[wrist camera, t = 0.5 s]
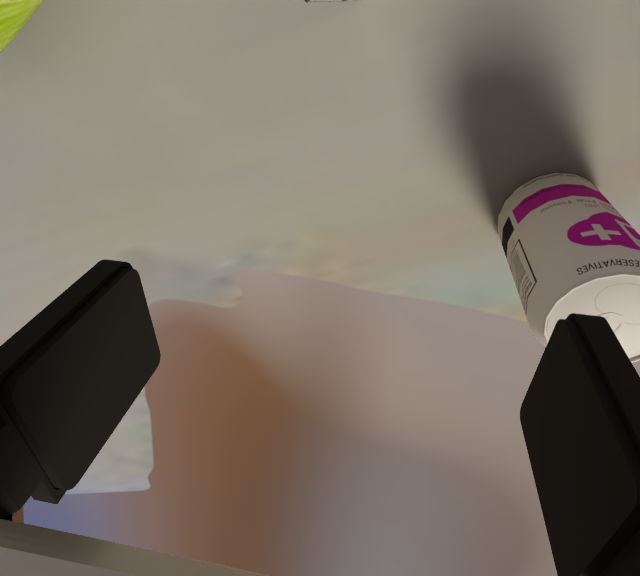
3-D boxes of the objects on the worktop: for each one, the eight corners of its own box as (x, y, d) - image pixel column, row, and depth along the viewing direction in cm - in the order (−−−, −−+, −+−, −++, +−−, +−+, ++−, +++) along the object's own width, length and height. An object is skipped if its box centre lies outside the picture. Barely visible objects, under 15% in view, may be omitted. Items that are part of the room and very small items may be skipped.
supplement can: (533, 154, 35) (596, 242, 23) (624, 194, 35) (733, 301, 23) (477, 235, 39) (505, 344, 27) (558, 270, 40) (620, 392, 28)
